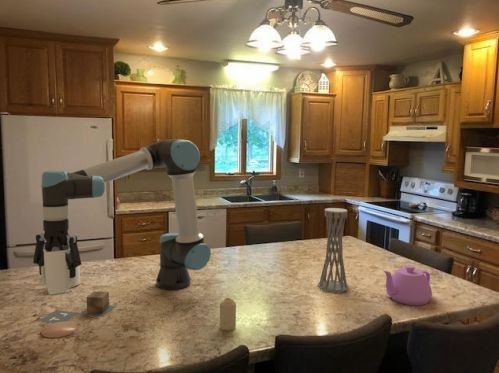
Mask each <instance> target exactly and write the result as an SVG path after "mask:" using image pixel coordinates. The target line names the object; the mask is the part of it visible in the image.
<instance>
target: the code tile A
mask: <svg viewBox="0 0 499 373" xmlns="http://www.w3.org/2000/svg"><path fill="white" fill-rule="evenodd" d="M79 313H80V312H78V311H77V312H76V311H75V312H74V311H68V310H57V309H55V310H54V311H52V312H50V313H49V314H47V315H45V316H44V317H42V318H40V319H39V320H37V322H41V323H49V324H53V323H57V322H64V321H71V319H73V318H74V317H76V316H78V315H80V314H79Z"/></svg>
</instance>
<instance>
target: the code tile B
mask: <svg viewBox="0 0 499 373" xmlns="http://www.w3.org/2000/svg"><path fill="white" fill-rule="evenodd" d="M116 308H117V305H110V304H109V308H108V309H107V310H106V311H105V312H104V313H87V308H85V309H84V310H82V311H80V312H78V313H79V314H78V315H84V316H93V317H94V316H95V317H102V318H103V317H105V316H106V315H107V314H109V313H110V312H112V311H114V310H115V309H116Z"/></svg>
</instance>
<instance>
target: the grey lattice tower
mask: <svg viewBox="0 0 499 373" xmlns="http://www.w3.org/2000/svg"><path fill="white" fill-rule="evenodd" d="M324 217H326V230H327V231H326V232H327V239H326V241H327V242H326V253H325V259H324V263H323V266H322V267H323V268H322V272H321V275H320V279H319V281H318V283H317V288H318V287H319V288H320V289H319V288H318V289H319V290H321V289H322V290H321V291H323V290H324V292H327V291H328V293H331V292H342V293H345V292H344V291H346V292H347V291H348V290H349V289H348V288H349V285H348V282H347V276H346V271H345V269H346V268H345V264H344V263H345V262H344V259H343V238H344V237H343V236H344V230H345V222H346V219H347V218H348V210H347V209H345V208H338V207H328V208H324ZM333 219H334V221H333ZM338 219H339V222H338ZM332 254H333V256H332ZM334 265H335V273H334V274H335V275H334V276H333V268H334ZM339 267H340V269H339ZM328 268H329V271H328ZM327 273H328V275H327Z"/></svg>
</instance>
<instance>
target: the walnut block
mask: <svg viewBox="0 0 499 373" xmlns="http://www.w3.org/2000/svg"><path fill="white" fill-rule="evenodd" d="M109 305H110V292H109V291H95V290H94V291H93V290H92V292H91V293H89V295H87V296H86V309H87V313H104V312H105V311H106V310H107V309H108V308H109Z"/></svg>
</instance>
